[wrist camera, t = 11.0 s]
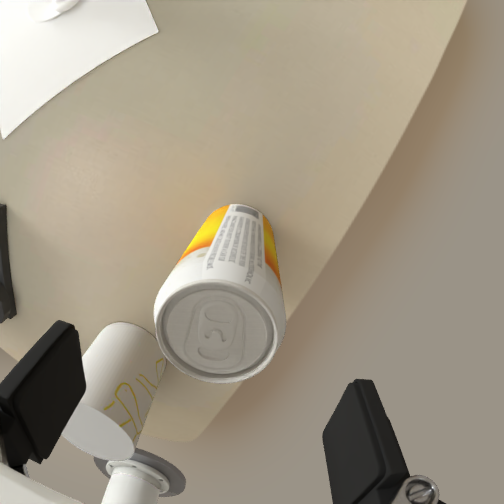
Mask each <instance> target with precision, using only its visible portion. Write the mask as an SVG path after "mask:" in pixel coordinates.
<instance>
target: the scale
mask: <svg viewBox="0 0 504 504" xmlns="http://www.w3.org/2000/svg"><path fill="white" fill-rule="evenodd" d="M15 315H16V308H15V303H14V297H13V290H12V283H11V275H10V267H9V257H8V244H7V227H6V205H3V204H0V323H2V322H4V321H5V320H6V319H7V318H9V319H11V318H13V317H14V316H15Z"/></svg>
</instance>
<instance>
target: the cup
mask: <svg viewBox="0 0 504 504" xmlns="http://www.w3.org/2000/svg"><path fill="white" fill-rule="evenodd" d="M82 362H83V368H84V374H85V380H86V391H85V394H84V395H83V397H82V399H81V400H80V402H79V404H78V406H77V407H76V409H75V411H74V412H73V414H72V416H71V418H70V419H69V421H68V423H67V425H66V426H65V428H64V430H63V432H62V434H61V435H62V436H63V437H64V438H66V439H67V440H68V441H69V442H70V443H72V444H73V445H74V446H76V447H77V448H79V449H81V450H82V451H84V452H86V453H88V454H90V455H92V456H95V457H98V458H101V459H105V460H110V461H124V460H127V459H129V458H131V457H132V455H133V454H134V451H135V448H136V445H137V442H138V439H139V436H140V434H141V431H142V428H143V425H144V423H145V420H146V417H147V414H148V412H149V409H150V406H151V403H152V401H153V398H154V395H155V393H156V390H157V387H158V385H159V382H160V379H161V377H162V374H163V372H164V369H165V366H166V357H165V355H164V354H163V352H162V350H161V348H160V346H159V344H158V341H157V340H156V339H155V337H153V336H152V335H151V334H150V333H149V332H147V331H146V330H144V329H143V328H141V327H139V326H136V325H134V324H130V323H124V322H117V323H112V324H110V325H108V326H106V327H105V328H104V329H103V330H102V331H101V332H100V334H99V335H98V336H97V338H96V339H95V340H94V342H93V343H92V345H91V346H90V347H89V349H88V350H87V351H86V353H85V354H84V355H83V357H82Z"/></svg>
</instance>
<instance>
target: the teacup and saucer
mask: <svg viewBox="0 0 504 504" xmlns="http://www.w3.org/2000/svg"><path fill="white" fill-rule="evenodd" d="M79 1H80V0H52V1H50V2H49V1H48V0H27V3H26V14H27V17H28V18H29V19H30V20H31V21H32V22H34V23H45V22H48V21H51V20H53V19H55V18H56V17H58V16H59V15H61V14H62V13H64V12H67V11H69V10H70V9H72V8H73V7H74V6H75V5H76V4H77V3H78V2H79Z"/></svg>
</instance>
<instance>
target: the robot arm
mask: <svg viewBox="0 0 504 504" xmlns="http://www.w3.org/2000/svg"><path fill="white" fill-rule="evenodd" d="M85 391H86V380H85V374H84V368H83V362H82V356H81V349H80V342H79V334H78V331H77V330H75V327H74V325H72V324H70V323H67V322H64V321H61V320H58V321H56V322H55V323H54V324H53V325H52V327H51V328H50V329H49V330H48V331H47V332H46V333H45V334H44V335H43V336H42V337H41V338H40V339H39V340H38V341H37V343H36V344H35V345H34V346H33V347H32V348H31V349H30V350H29V351H28V352H27V353H26V355H25V356H24V357H23V358H22V359H21V360H20V361H19V363H18V364H17V365H16V366H15V367H14V368H13V369H12V370H11V372H10V373H9V374H8V375H7V376H6V377H5V379H4V380H3V381H2V382H1V384H0V504H85V503H82V502H80V501H77V500H75V499H73V498H70V497H68V496H66V495H63V494H61V493H59V492H57V491H55V490H53V489H50V488H48V487H46V486H44V485H42V484H40V483H38V482H36V481H34V480H32V479H30V478H29V475H28V471H27V467H26V463H27V461H28V459H31V460H33V461H35V462H37V463H39V464H41V462H42V460H43V459H47V458H48V457H49V456H50V454H51V452H52V450H53V448H54V446H55V444H56V443H57V441H58V439H59V437H60V435H61V434H62V432H63V430H64V428H65V426H66V425H67V423H68V421H69V419H70V418H71V416H72V414H73V412H74V411H75V409H76V407H77V406H78V404H79V402H80V400H81V399H82V397H83V395H84V394H85ZM323 445H324V451H325V456H326V462H327V468H328V474H329V481H330V487H331V494H332V500H333V504H446V503H444V502H442V501H440V500H439V489H438V487H437V485H436V484H435V483H434V482H433V481H432V480H431V479H429V478H428V477H425V476H422V475H414V476H410V474H409V471H408V469H407V466H406V463H405V460H404V458H403V455H402V452H401V449H400V446H399V444H398V441H397V438H396V436H395V433H394V430H393V428H392V425H391V423H390V420H389V419H388V417H387V416H386V413H385V410H384V408H383V405H382V403H381V400H380V398H379V395H378V393H377V390H376V388H375V385H374V383H373V381H372V380H364V379H355V380H354V382H353V383H349V384H348V386H347V388H346V390H345V392H344V394H343V396H342V398H341V400H340V402H339V403H338V405H337V407H336V409H335V411H334V413H333V415H332V416H331V418H330V420H329V422H328V424H327V425H326V427H325V429H324V431H323ZM106 470H107V472H108V474H109V475H110V476H111V478H110V481H109V483H108V486H107V489H106V492H105V494H104V497H103V500H102V503H101V504H157V501H158V497H159V494H163V493H165V492H167V491H168V490H169V487H170V482H169V480H168V479H167V477H166V476H164V475H163V474H162V473H161V472H159V471H158V470H156V469H154V468H152V467H150V466H148V465H146V464H143V463H141V462H137V461H134V460H130V459H127V460H124V461H110V460H109V461H108V463H107V465H106Z"/></svg>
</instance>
